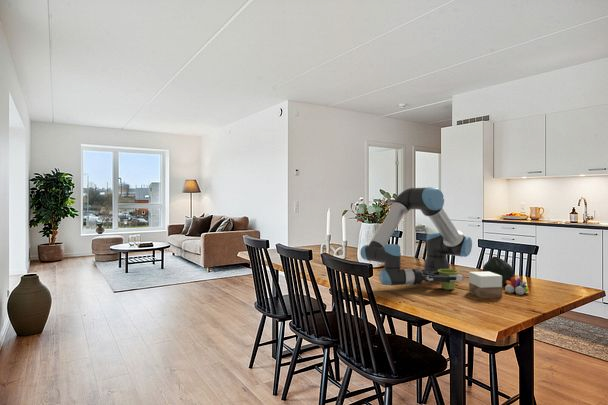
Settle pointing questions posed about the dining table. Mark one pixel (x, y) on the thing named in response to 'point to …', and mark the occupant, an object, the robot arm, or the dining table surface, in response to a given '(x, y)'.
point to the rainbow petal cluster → (516, 286)
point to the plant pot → (447, 272)
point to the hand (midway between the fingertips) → (457, 275)
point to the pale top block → (485, 279)
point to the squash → (499, 269)
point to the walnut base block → (485, 291)
